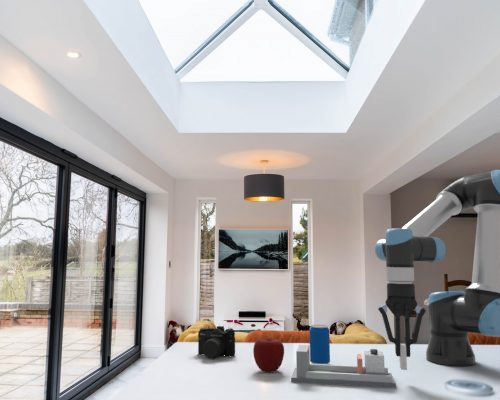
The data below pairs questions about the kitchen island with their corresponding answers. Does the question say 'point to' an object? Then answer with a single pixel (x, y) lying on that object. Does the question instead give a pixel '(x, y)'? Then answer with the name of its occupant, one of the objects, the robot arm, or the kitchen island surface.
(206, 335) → the camera
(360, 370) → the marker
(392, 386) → the base
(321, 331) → the beverage can
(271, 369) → the apple
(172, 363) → the kitchen island surface
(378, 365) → the white cube with knob
